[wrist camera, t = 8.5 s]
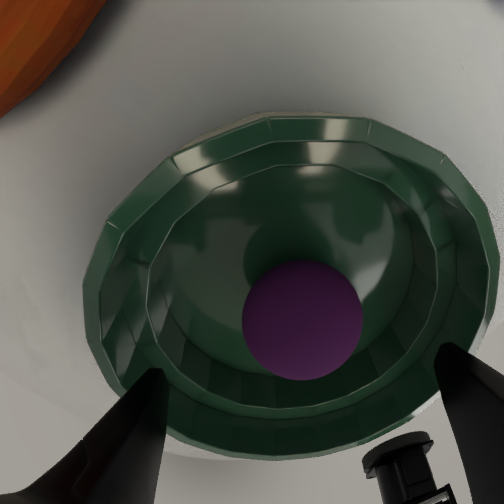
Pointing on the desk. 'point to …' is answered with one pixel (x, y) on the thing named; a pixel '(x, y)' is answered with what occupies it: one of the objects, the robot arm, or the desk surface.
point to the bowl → (280, 251)
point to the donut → (37, 42)
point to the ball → (302, 319)
